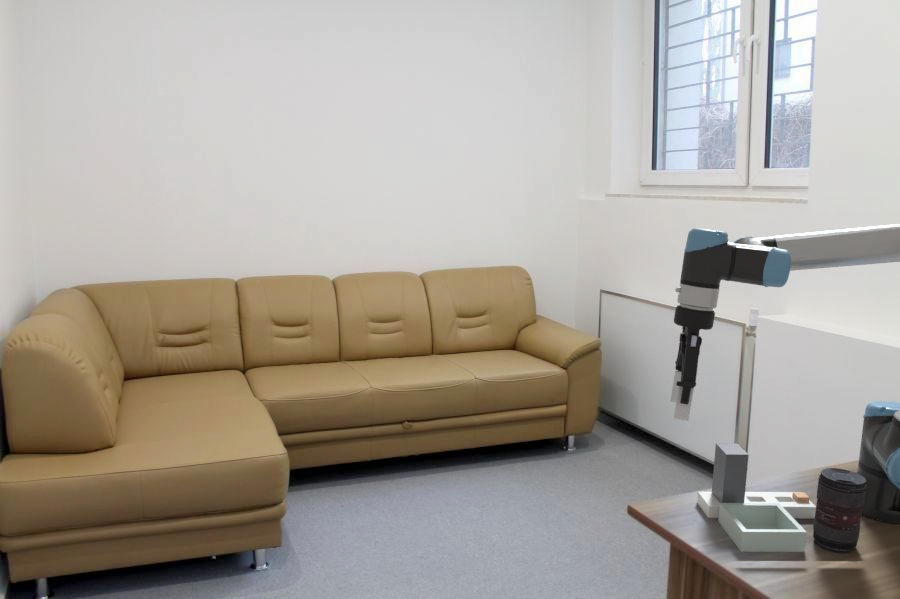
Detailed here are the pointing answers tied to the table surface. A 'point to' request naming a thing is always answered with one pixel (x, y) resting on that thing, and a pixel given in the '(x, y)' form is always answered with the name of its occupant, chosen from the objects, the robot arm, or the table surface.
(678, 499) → the table surface
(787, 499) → the strip
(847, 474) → the camera lens
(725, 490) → the tall grey pillar
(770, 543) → the bin
